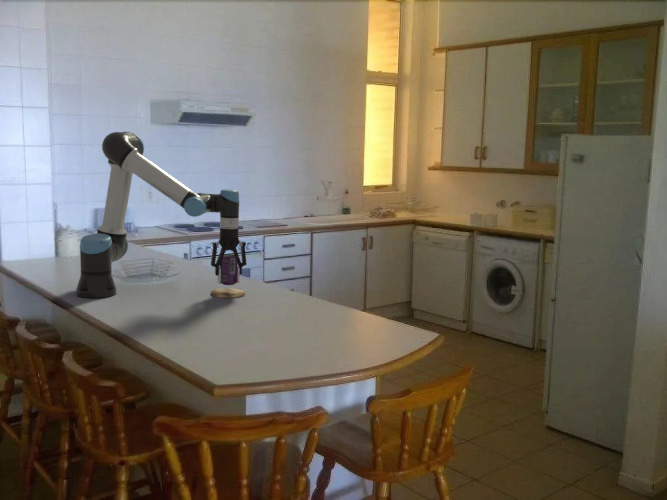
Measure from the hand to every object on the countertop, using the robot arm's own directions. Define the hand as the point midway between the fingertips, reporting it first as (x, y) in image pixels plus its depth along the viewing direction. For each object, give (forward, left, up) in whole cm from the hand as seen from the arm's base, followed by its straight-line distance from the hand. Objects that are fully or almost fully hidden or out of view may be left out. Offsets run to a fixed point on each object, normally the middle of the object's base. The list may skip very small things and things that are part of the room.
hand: (228, 282), depth 286 cm
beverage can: (0, 0, -1) cm, 1 cm away
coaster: (0, 0, -5) cm, 5 cm away
